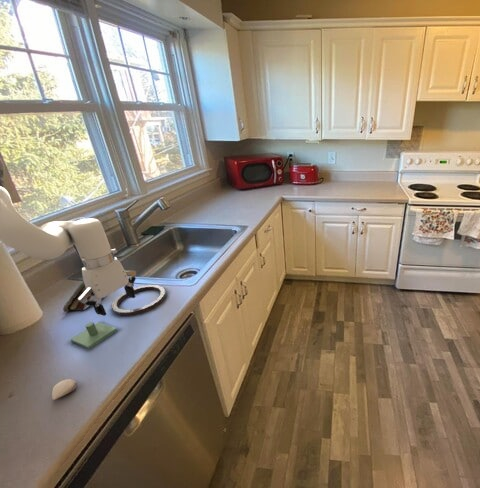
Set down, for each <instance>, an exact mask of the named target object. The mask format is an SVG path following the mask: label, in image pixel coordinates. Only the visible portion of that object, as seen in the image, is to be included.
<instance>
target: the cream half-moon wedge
mask: <svg viewBox="0 0 480 488" xmlns="http://www.w3.org/2000/svg"><path fill="white" fill-rule="evenodd" d="M76 386H77V382H76V381H75V380H74V379H72V378H71V379H70V378H68V379H63V380H61V381H59V382H58V383H56V384H55V385H54V386H53V388H52V391H51V398H52V400H57V399H60V398H62V397H63V396H66V395H67V394H69V393H71V392H72V391H74V389H75V388H76Z"/></svg>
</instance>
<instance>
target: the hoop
mask: <svg viewBox="0 0 480 488" xmlns="http://www.w3.org/2000/svg"><path fill="white" fill-rule="evenodd" d="M133 289H134V292H135V294H137V293H139V292H144V291H157V292H159V296H158V297H157V298H156V299H155V300H154V301H151V302H150V303H149V304H146V305H144V306H142V307H137V308H134V309H124V308H123V309H122V308H119V305H120V304H121V303H122V302H123V300H124V299H126V298H129V297H128V296H127V294H126V291H125V292H123V293H121V294H119V295H118V296H117V297H116V298H115V299H114V300H112V304H111V309H112V311H113V313H114V314H116V315H118V316H121V317H132V316H136V315H141V314H144V313H146V312H148V311H151V310H153V309H155V308H156V307H158V306H159V305H160V304H162V303H163V302H164V300H165V299H166V298H167V297H166V296H167V291H166V289H165V288H164V287H163V286H161V285H158V284H145V285H141V286H136V287H133Z"/></svg>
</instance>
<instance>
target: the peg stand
mask: <svg viewBox="0 0 480 488" xmlns="http://www.w3.org/2000/svg"><path fill="white" fill-rule="evenodd" d="M84 327H85V330H83V331H82V332H80V333H79V334H77V335H75V336H73V337H72V338H70V342H71V343H74V344H76V345H79V346H80V347H83V348H86V349H88V350H91V349H92V348H94V347H96V346H97V345H98V344H100V343H102V341H104V340H106V339H107V338H109V337H110V336H112V335H113V334H115V333H116V332H117V331H118V328H116V327H114V326H112V325H109V324H106V323H103V322H101V321H98V322H96V323H94V321H91V322H87V323H86V324H85V326H84Z"/></svg>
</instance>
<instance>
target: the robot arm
mask: <svg viewBox="0 0 480 488" xmlns="http://www.w3.org/2000/svg"><path fill="white" fill-rule="evenodd" d="M0 242H1V243H3V244H5V245H6V246H8V247H9V248H12V249H14V250H16V251H18V252H19V253H21V254H24V255H26V256H27V257H30V258H33V259H36V260H41V261H51V260H56V259H58V258H60V257H61V256H63V255H64V254H65V252H66V251H67V249H68V248H69V247H71V246H72V245H74V247H75V248H76V251H77V253H78V256H79V257H80V260H81V262H82V264H83V267H82V268H81V276H82V281H83V280H84V283H85V287H86V290H85V291H84V293H83V294H82V295H81V296H80V297H79V298H78V301H80V302H82V303H84V304H86V305H89V307H92V308H93V310H94V312H95V314H97V315H100V316H103V317H105V316H106V315H107V312H106V309H105V307H104V305H103V304H102V300H103V298H105V297H108V296H110V295H111V294H112V293H115V292H116V291H119V290H120V289H122V288H123V289H124V291H125V292H126V294H127V296H128V297H127V298H131V299H135V298H136V295H135V294H136V293H135V292H134V289H133V288H134V287H135V284H134V283H135V281H136V279H137V278H136V276H137V271H136V270H125V268H124V266H123V265H122V263H121V262H120V261H119V258H118V257H116V256H115V254H117V253H118V251H117V249H116V248H113V249H112V247H111V245H110V242H109V239H108V236H107V234H106V232H105V229H104V226H103V224H102V222H101V221H100V220H99V219H97V218H90V217H89V218H81V219H78V220H60V221H59V220H56V221H48V222H46V223H44V224H42V225H41V226H40V227H39V226H37V225H35V224H34V223H32V222H31V221H29V220H28V219H26V218H25V217H23V216H22V214H20V212H18V210H17V209H16V207H15V206H14V203H13V201H12V197H11V194H10V192H9V191H8V190H7V189H6V188H5V187H3V186H2V185H0ZM128 276H129V277H128ZM89 295H90V296H92V298H91V301H89V300H87V298H88V296H89Z"/></svg>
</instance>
